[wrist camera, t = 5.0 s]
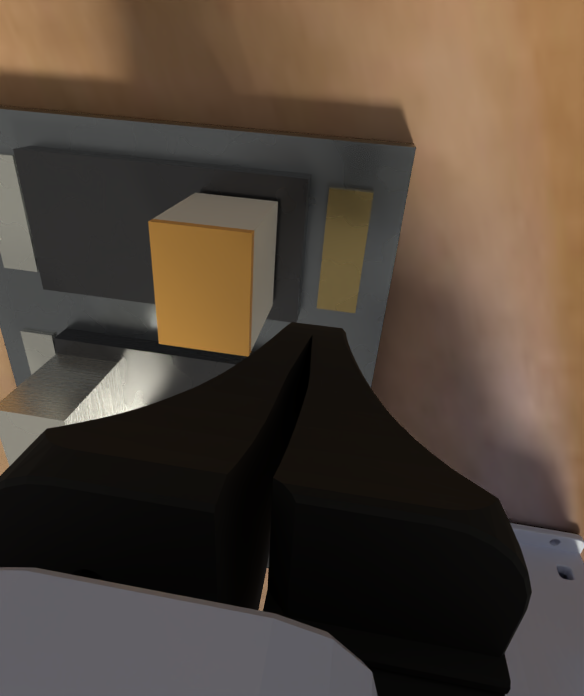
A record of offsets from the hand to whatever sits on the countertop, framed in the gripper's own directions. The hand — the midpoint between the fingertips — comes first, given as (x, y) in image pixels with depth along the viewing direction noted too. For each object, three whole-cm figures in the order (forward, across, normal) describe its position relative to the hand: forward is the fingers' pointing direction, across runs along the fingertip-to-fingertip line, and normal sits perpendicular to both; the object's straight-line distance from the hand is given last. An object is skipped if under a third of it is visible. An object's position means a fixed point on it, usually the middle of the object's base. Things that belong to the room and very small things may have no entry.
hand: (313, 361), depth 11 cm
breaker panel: (+9, +7, +8) cm, 14 cm away
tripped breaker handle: (+7, +4, 0) cm, 8 cm away
